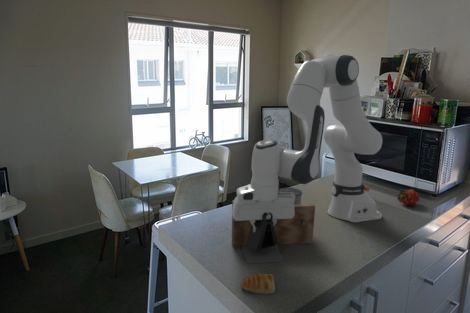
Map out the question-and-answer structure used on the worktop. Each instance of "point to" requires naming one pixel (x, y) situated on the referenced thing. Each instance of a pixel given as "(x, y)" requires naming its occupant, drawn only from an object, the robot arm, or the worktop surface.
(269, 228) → the phone stand
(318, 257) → the worktop surface
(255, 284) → the pastry
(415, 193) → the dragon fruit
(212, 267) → the worktop surface
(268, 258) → the door mat
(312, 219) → the door panel
